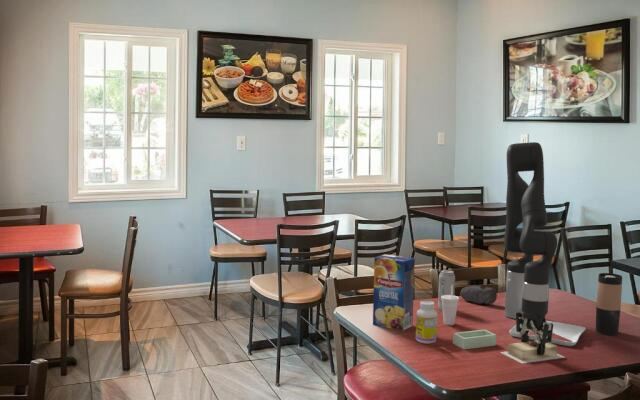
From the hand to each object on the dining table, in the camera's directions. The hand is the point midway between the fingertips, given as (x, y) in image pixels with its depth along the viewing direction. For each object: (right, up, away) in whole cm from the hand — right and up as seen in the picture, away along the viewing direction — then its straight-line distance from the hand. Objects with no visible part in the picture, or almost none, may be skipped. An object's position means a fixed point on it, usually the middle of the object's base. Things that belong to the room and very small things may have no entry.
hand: (532, 351), depth 194 cm
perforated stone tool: (-1, +4, +64) cm, 64 cm away
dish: (-15, -1, +9) cm, 18 cm away
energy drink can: (-16, +3, +53) cm, 55 cm away
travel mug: (+35, 0, +28) cm, 45 cm away
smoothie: (-18, +1, +35) cm, 39 cm away
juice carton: (-39, +1, +32) cm, 50 cm away
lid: (0, -1, 0) cm, 1 cm away
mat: (0, -2, 0) cm, 2 cm away
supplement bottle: (-30, 0, +15) cm, 33 cm away
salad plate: (+12, -1, +21) cm, 24 cm away
